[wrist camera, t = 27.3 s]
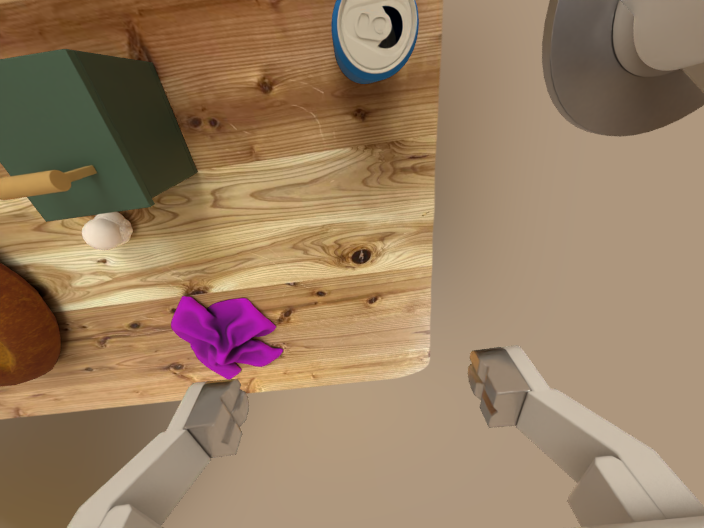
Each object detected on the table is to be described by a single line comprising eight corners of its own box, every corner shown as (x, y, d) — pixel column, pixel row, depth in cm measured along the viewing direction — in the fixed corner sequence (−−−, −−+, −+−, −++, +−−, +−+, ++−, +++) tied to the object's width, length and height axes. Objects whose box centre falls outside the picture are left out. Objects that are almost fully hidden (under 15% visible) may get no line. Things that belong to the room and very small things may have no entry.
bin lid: (155, 204, 27) (118, 227, 23) (53, 218, 28) (-4, 244, 23) (73, 50, 21) (-1, 38, 16) (-59, 71, 21) (-168, 66, 17)
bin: (198, 172, 36) (152, 198, 27) (119, 183, 36) (48, 213, 27) (152, 62, 30) (74, 50, 21) (58, 77, 30) (-58, 71, 21)
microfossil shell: (146, 225, 39) (120, 243, 35) (125, 246, 41) (98, 266, 36) (115, 201, 37) (82, 217, 33) (95, 224, 39) (61, 242, 34)
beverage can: (388, 87, 32) (411, 85, 21) (332, 80, 31) (328, 74, 21) (400, 12, 28) (433, -32, 18) (336, 2, 28) (334, -49, 18)
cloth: (155, 295, 46) (131, 322, 41) (267, 289, 46) (258, 314, 41) (200, 380, 58) (186, 409, 52) (289, 374, 58) (284, 403, 53)
